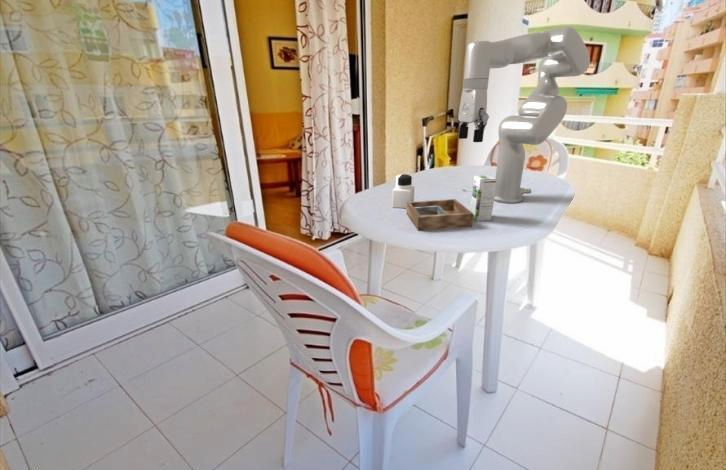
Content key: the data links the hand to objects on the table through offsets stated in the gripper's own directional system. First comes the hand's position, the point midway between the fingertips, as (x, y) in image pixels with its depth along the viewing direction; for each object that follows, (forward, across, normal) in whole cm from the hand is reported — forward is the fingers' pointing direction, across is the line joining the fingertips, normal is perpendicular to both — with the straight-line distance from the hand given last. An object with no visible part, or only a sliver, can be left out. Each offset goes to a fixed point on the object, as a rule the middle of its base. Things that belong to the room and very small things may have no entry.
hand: (470, 140), depth 115 cm
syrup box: (+26, +9, +2) cm, 27 cm away
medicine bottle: (+26, -13, -19) cm, 34 cm away
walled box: (+26, +6, -13) cm, 29 cm away
